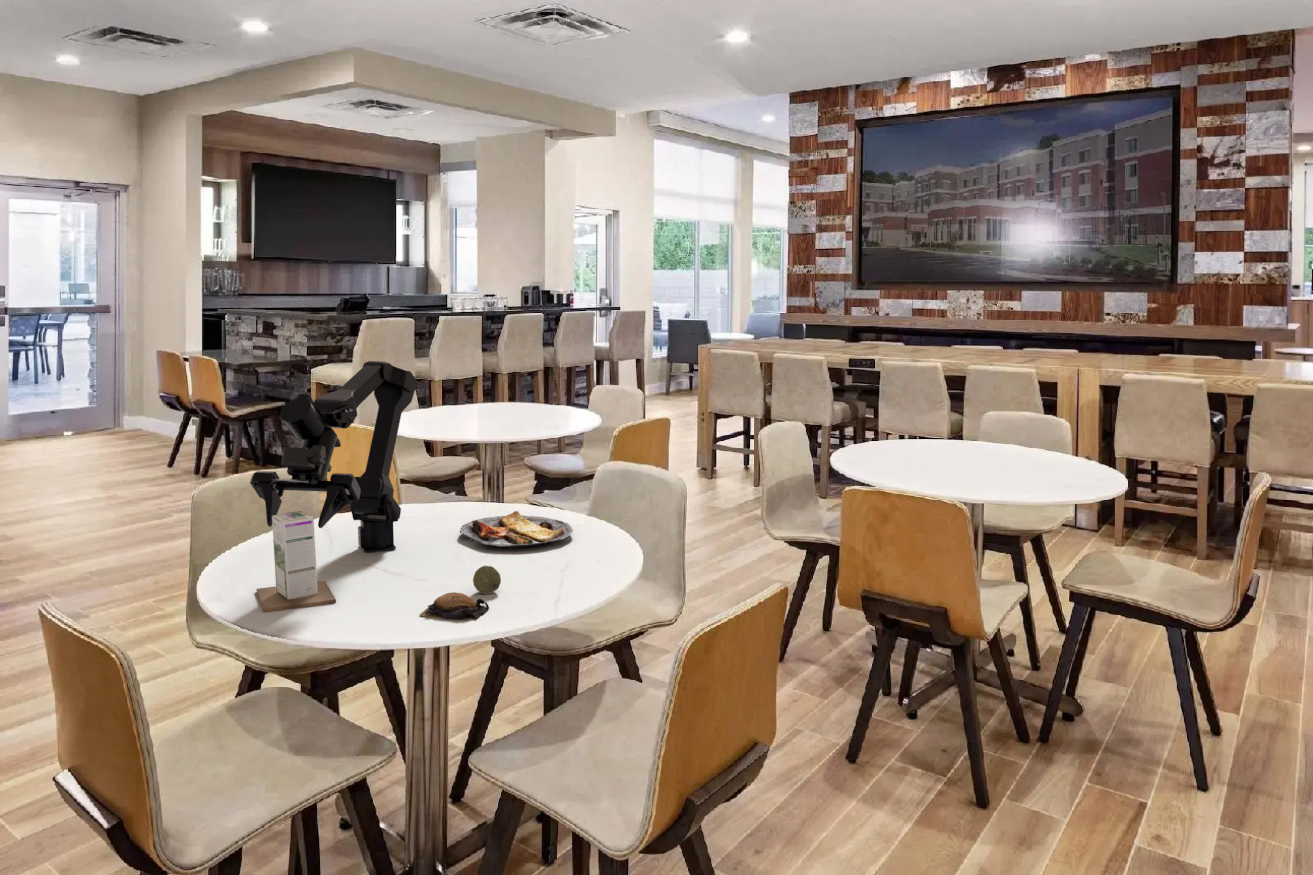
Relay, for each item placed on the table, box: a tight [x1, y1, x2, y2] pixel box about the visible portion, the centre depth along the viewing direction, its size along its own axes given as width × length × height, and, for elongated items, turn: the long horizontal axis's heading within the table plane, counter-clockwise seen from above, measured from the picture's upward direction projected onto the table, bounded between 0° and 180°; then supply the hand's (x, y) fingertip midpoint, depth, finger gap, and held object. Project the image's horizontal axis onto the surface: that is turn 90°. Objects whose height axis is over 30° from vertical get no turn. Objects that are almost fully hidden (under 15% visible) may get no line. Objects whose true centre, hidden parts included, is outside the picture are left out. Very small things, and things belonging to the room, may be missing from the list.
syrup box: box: [272, 510, 318, 600], centre depth 176 cm, size 6×6×14 cm
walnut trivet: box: [256, 580, 337, 613], centre depth 177 cm, size 12×12×1 cm
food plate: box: [459, 510, 574, 548], centre depth 221 cm, size 25×23×4 cm
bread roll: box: [419, 591, 490, 621], centre depth 171 cm, size 11×8×4 cm
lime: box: [472, 565, 502, 595], centre depth 181 cm, size 4×5×5 cm
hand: (294, 526), depth 176 cm, fingers open, 9 cm apart
